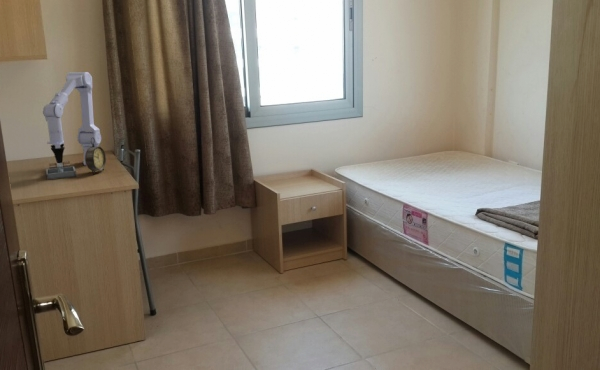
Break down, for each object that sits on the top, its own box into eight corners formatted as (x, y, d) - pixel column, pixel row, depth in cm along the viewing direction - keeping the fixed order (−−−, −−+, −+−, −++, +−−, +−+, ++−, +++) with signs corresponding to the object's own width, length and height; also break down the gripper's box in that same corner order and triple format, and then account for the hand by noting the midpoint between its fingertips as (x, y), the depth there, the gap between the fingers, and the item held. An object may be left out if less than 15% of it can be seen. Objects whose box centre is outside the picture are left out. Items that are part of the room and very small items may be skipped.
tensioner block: (49, 169, 295) (48, 163, 295) (70, 167, 299) (69, 161, 298) (50, 173, 287) (49, 167, 287) (71, 171, 291) (70, 164, 290)
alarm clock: (95, 175, 281) (91, 139, 277) (84, 175, 282) (80, 139, 278) (107, 169, 291) (103, 135, 287) (97, 169, 292) (93, 135, 288)
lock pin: (56, 173, 284) (54, 154, 282) (64, 172, 285) (62, 153, 283) (57, 175, 281) (54, 155, 279) (65, 174, 282) (62, 154, 280)
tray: (46, 174, 285) (46, 169, 285) (74, 171, 290) (74, 166, 289) (47, 179, 276) (46, 174, 275) (76, 176, 280) (75, 171, 279)
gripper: (45, 130, 283) (49, 159, 286) (46, 134, 270) (50, 165, 273) (62, 128, 285) (66, 157, 289) (63, 133, 272) (67, 163, 276)
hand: (59, 161), depth 281 cm, fingers open, 5 cm apart
